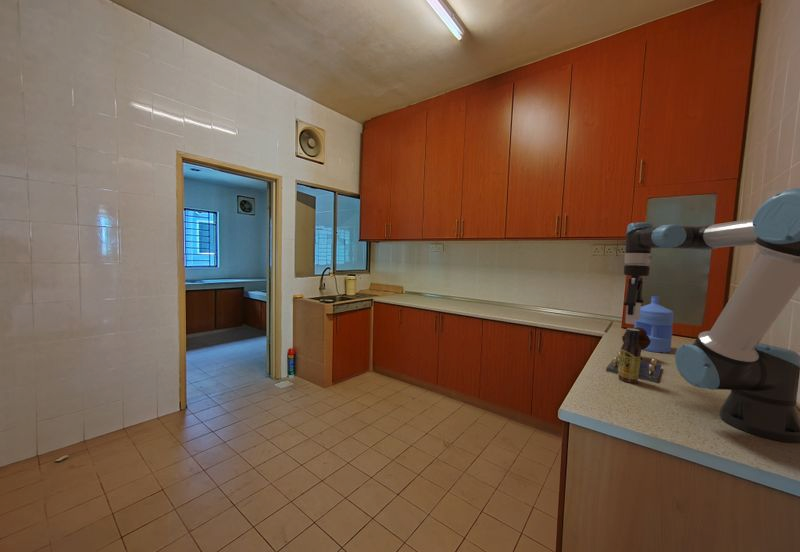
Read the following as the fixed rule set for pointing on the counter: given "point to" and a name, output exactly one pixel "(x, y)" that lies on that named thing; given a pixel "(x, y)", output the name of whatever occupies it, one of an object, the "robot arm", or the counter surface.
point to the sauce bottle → (630, 357)
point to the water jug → (656, 325)
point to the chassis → (645, 371)
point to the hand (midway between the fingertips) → (632, 321)
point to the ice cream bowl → (641, 338)
